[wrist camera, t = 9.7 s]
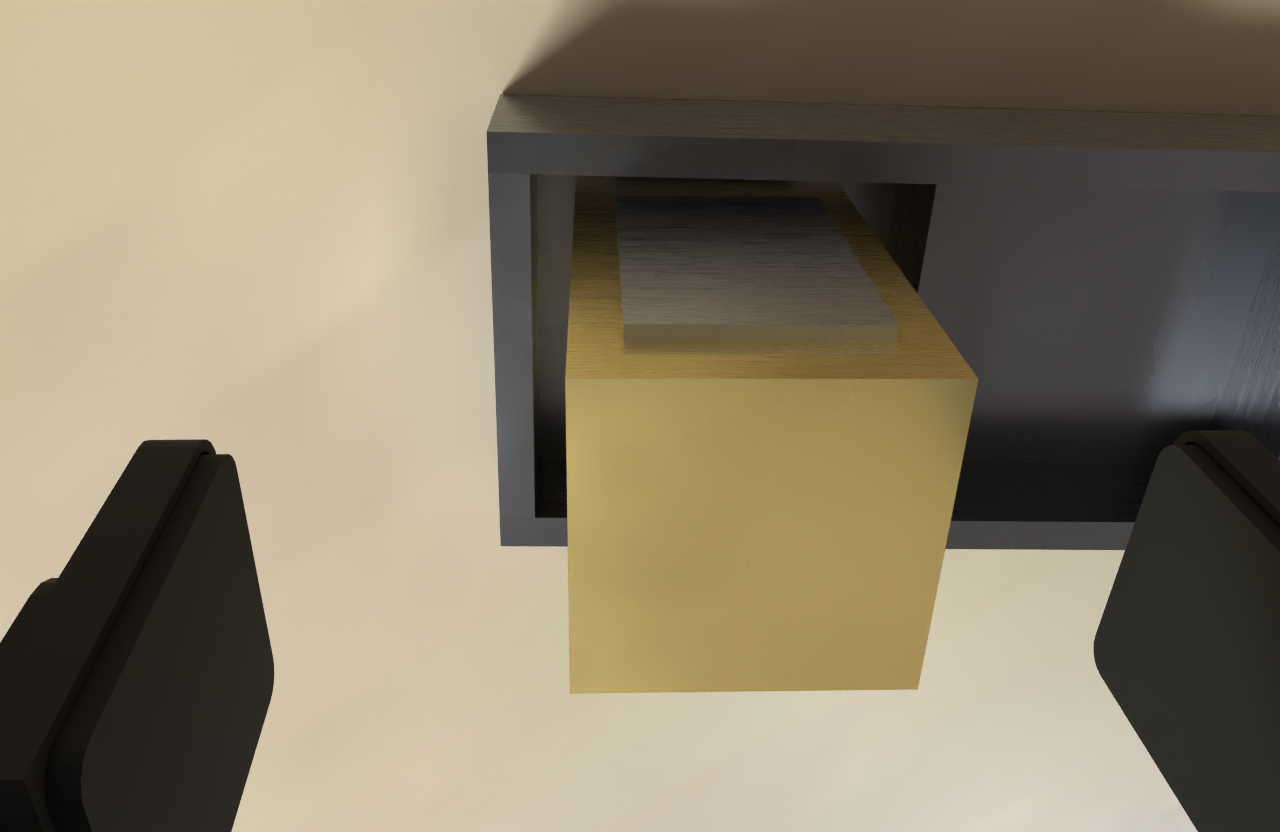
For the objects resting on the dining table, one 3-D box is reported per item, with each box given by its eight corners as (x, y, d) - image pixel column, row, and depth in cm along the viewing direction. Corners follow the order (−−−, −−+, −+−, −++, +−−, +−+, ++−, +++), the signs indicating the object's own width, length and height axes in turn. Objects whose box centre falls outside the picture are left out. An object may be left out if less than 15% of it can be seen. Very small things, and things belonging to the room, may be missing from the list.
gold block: (575, 177, 17) (564, 361, 11) (845, 179, 17) (981, 362, 11) (577, 435, 20) (570, 705, 14) (816, 435, 20) (915, 700, 14)
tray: (500, 94, 17) (486, 131, 15) (1329, 117, 18) (1432, 156, 16) (510, 470, 21) (501, 545, 18) (1204, 477, 21) (1275, 550, 19)
